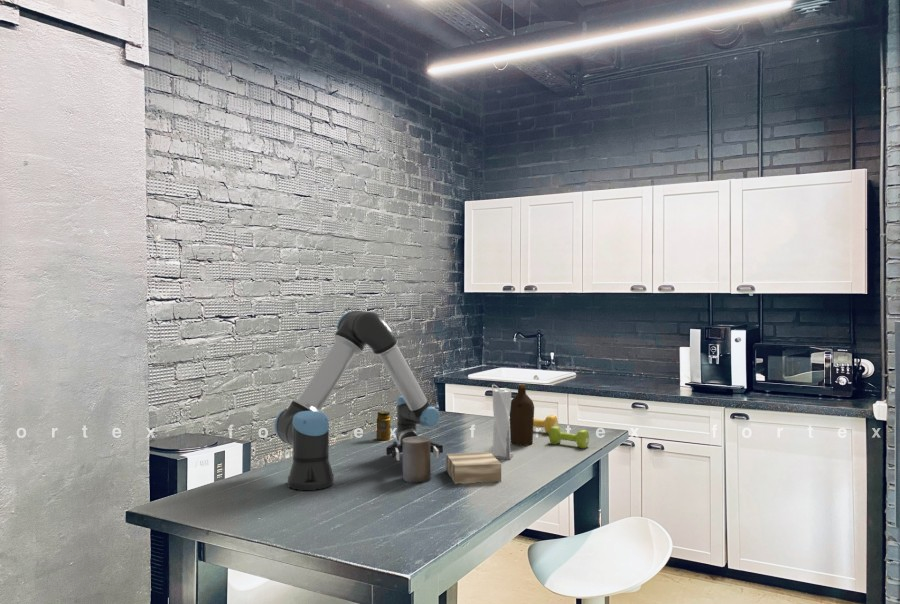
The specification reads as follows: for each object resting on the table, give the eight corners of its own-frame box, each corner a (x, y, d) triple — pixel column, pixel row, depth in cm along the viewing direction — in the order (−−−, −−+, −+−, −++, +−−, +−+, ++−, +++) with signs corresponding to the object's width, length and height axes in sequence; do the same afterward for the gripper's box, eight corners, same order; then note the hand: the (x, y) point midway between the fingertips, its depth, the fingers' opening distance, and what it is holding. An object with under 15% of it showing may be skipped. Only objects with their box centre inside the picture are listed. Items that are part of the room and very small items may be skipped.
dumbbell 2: (591, 446, 265) (591, 429, 265) (583, 450, 259) (583, 432, 259) (555, 441, 275) (555, 424, 275) (546, 444, 268) (547, 427, 268)
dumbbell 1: (513, 431, 294) (513, 413, 294) (522, 427, 302) (522, 410, 302) (552, 436, 284) (552, 417, 284) (559, 432, 292) (559, 414, 292)
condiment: (394, 438, 278) (394, 411, 277) (384, 443, 270) (384, 414, 270) (379, 437, 280) (379, 410, 280) (369, 441, 273) (369, 413, 272)
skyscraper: (488, 457, 246) (489, 385, 245) (493, 452, 253) (493, 382, 253) (510, 459, 243) (510, 386, 243) (514, 454, 251) (514, 383, 251)
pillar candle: (435, 476, 220) (435, 433, 220) (422, 484, 211) (422, 439, 211) (410, 473, 224) (410, 431, 224) (397, 481, 215) (396, 437, 215)
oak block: (501, 481, 215) (501, 463, 215) (454, 483, 212) (454, 465, 212) (489, 468, 231) (489, 452, 231) (446, 470, 228) (446, 453, 228)
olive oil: (537, 445, 266) (538, 385, 266) (514, 446, 264) (514, 386, 263) (528, 439, 277) (528, 382, 276) (505, 440, 274) (505, 383, 274)
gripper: (442, 449, 241) (453, 464, 221) (376, 452, 237) (381, 468, 216) (442, 430, 241) (453, 443, 221) (376, 432, 237) (381, 446, 216)
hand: (418, 455), depth 218 cm, fingers open, 13 cm apart
